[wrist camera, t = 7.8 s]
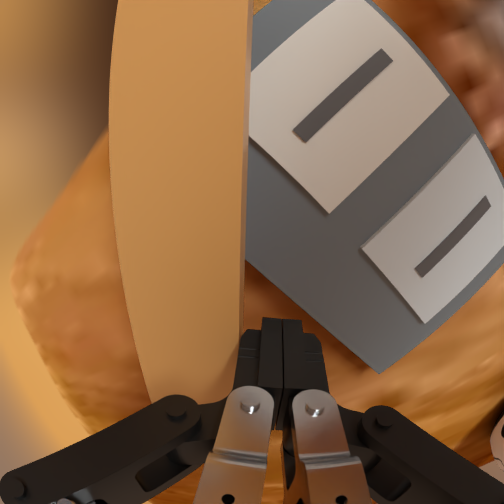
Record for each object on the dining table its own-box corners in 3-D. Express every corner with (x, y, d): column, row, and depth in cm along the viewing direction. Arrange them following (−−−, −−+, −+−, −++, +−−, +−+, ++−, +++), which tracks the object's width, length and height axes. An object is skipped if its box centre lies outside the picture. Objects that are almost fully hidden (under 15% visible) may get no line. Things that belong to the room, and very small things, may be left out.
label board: (320, -25, 10) (326, -41, 9) (513, 228, 15) (529, 238, 13) (138, 151, 15) (123, 155, 13) (373, 360, 19) (380, 378, 18)
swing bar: (160, -63, 6) (141, -91, 4) (257, -72, 6) (254, -106, 4) (173, 407, 16) (163, 440, 13) (241, 414, 16) (238, 449, 13)
